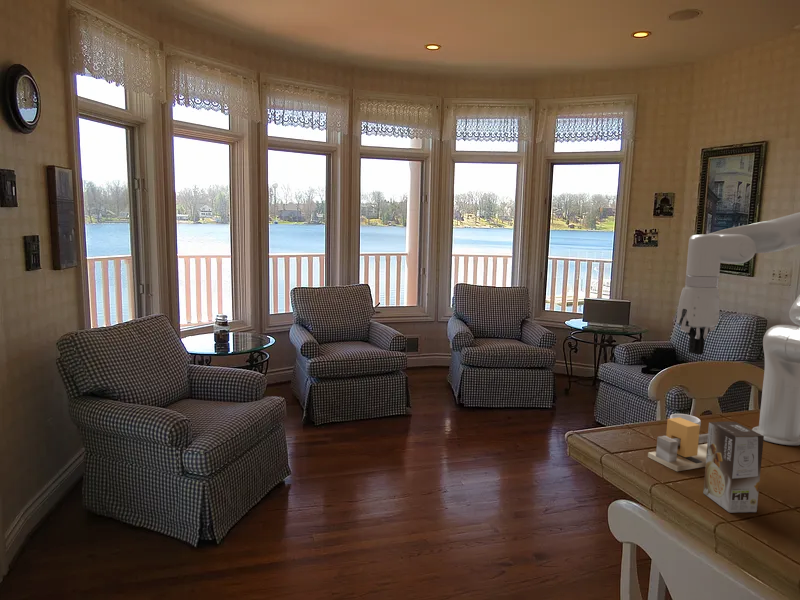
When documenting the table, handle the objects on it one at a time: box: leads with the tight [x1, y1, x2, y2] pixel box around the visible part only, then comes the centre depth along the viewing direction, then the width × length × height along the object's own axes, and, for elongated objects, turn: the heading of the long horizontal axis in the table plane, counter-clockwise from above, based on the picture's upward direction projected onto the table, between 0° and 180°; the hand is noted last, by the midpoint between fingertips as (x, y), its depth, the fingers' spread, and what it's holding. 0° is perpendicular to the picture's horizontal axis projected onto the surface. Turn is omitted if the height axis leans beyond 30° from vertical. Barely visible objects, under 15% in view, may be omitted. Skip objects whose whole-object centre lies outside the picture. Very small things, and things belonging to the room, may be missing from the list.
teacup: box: [669, 413, 702, 426], centre depth 157 cm, size 10×8×5 cm
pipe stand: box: [647, 433, 708, 472], centre depth 142 cm, size 20×9×6 cm, turn 111°
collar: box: [665, 417, 701, 457], centre depth 140 cm, size 4×6×8 cm, turn 21°
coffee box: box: [703, 421, 765, 513], centre depth 119 cm, size 9×6×16 cm
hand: (695, 353), depth 148 cm, fingers closed
